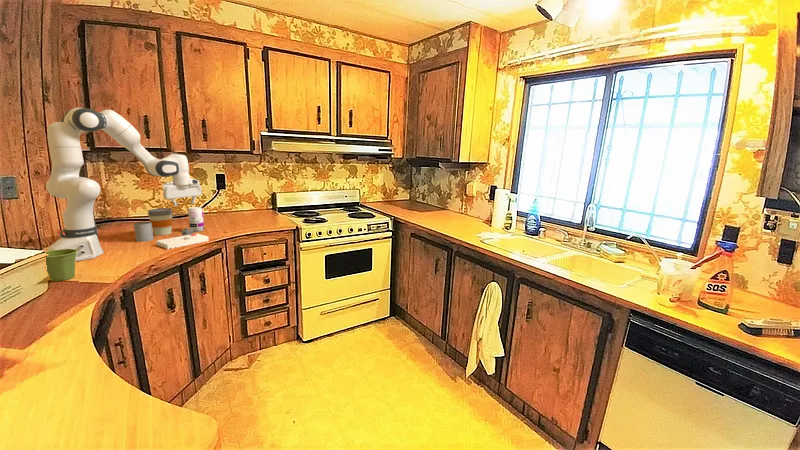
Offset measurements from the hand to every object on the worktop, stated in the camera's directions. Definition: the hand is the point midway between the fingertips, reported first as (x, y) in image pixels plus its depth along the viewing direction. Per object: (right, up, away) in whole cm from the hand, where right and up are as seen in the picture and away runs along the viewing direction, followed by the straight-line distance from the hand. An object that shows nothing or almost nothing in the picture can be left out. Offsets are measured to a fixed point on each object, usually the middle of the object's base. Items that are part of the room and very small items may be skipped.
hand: (184, 204), depth 211 cm
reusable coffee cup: (-20, -18, +11) cm, 29 cm away
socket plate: (+4, -22, -8) cm, 24 cm away
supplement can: (-4, -16, +21) cm, 26 cm away
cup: (-21, -21, -4) cm, 30 cm away
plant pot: (-12, -34, -63) cm, 73 cm away
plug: (0, -19, +4) cm, 20 cm away
